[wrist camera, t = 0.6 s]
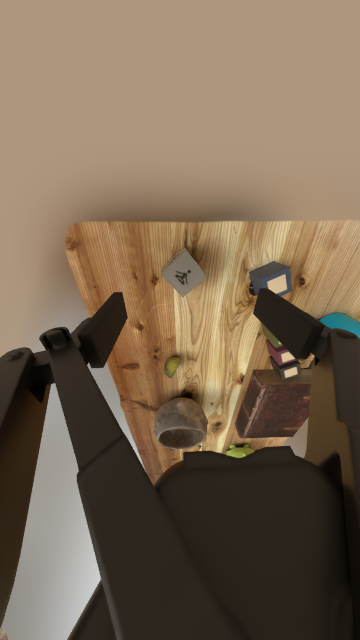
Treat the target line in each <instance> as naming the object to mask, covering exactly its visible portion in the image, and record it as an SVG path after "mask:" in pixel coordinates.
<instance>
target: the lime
mask: <svg viewBox="0 0 360 640" xmlns="http://www.w3.org/2000/svg"><path fill="white" fill-rule="evenodd" d="M180 360H181V359H180V358H179V357H171V358H169V359H167V361H166V363H165V365H164V372H165V374H166V376H168V377H169V378H172V377H173V375H174V373H175V371H176V369H177V367H178V365H179V363H180Z"/></svg>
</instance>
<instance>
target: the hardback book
mask: <svg viewBox="0 0 360 640" xmlns="http://www.w3.org/2000/svg"><path fill="white" fill-rule="evenodd" d="M311 374H312V369H301V375H299V376H295V377H292V378H289V379H286V380H283V381H282V379H281V378H280V377H279V375H278V374H277V372H276V371H275V370H254V372H253V375H252V378H251V380H250V383H249V386H248V389H247V392H246V395H245V398H244V401H243V404H242V407H241V410H240V413H239V415H238V418H237V421H236V429H237V432H238V435H239V437H240V438H266V437H293V436H294V435H295V433H296V432H297V431H298V429H299V428H300V427H301V426H302V424H303V423H304V422H305V420H306V419H307V418H308V417H309V404H310V389H311Z"/></svg>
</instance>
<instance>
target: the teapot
mask: <svg viewBox="0 0 360 640" xmlns="http://www.w3.org/2000/svg"><path fill="white" fill-rule="evenodd" d="M248 447H249V445H244V446H243V448H236V446H235V445H230V448H231V450H229V451H227V452H226V455H229V456H233V457H236V458H242V457H244V456H246V455H249V454H251V453H253V452H254V451H253V450H252V449H251V448H248Z"/></svg>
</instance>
